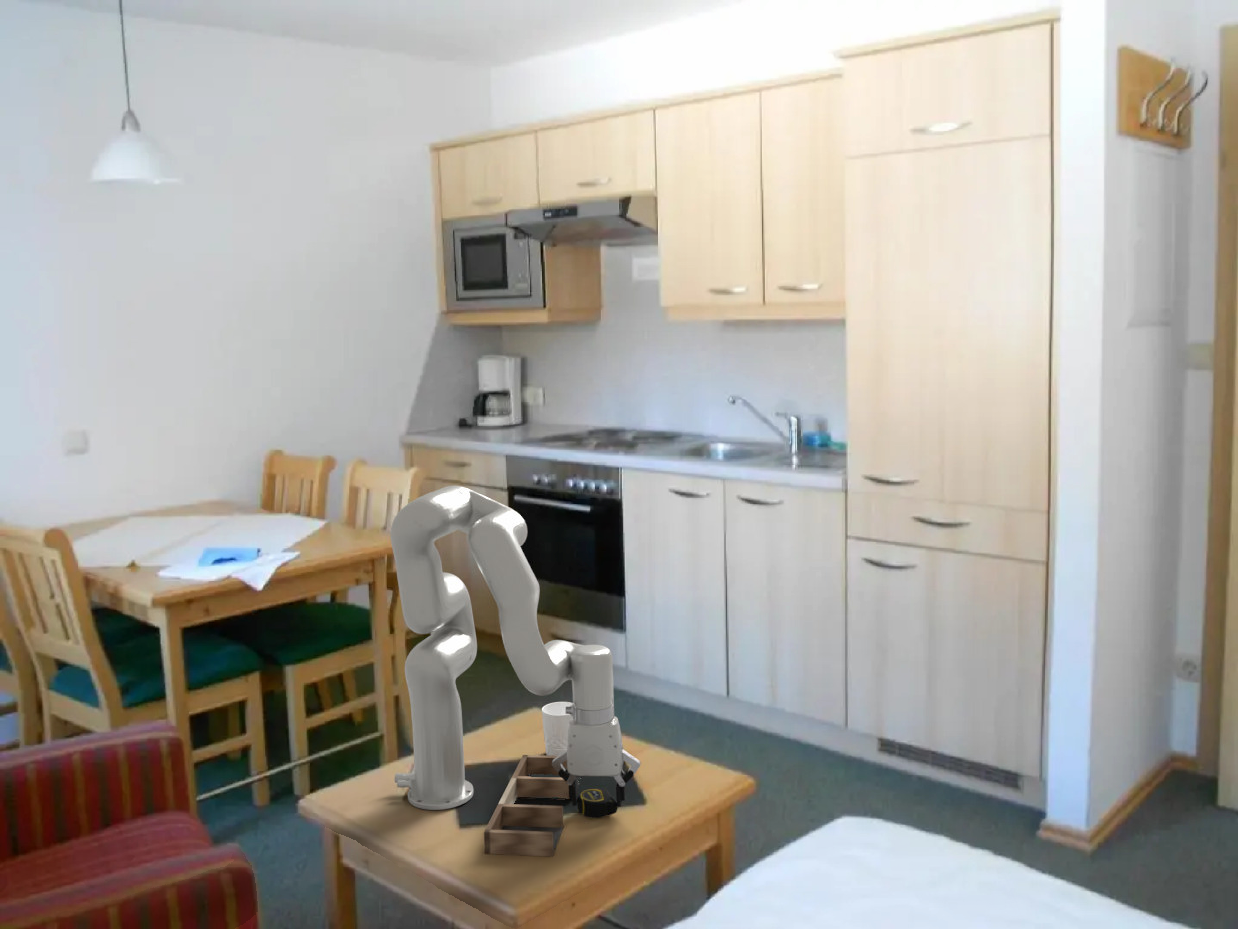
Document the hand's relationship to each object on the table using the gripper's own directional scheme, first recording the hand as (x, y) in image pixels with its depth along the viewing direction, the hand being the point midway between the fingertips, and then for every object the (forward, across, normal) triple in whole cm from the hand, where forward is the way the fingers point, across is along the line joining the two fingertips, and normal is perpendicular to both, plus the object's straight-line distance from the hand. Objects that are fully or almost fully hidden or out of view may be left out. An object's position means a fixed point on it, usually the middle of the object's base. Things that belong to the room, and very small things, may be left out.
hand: (597, 802), depth 212 cm
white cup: (+2, -12, +27) cm, 30 cm away
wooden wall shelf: (+2, -12, 0) cm, 12 cm away
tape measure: (+3, 0, +1) cm, 3 cm away
